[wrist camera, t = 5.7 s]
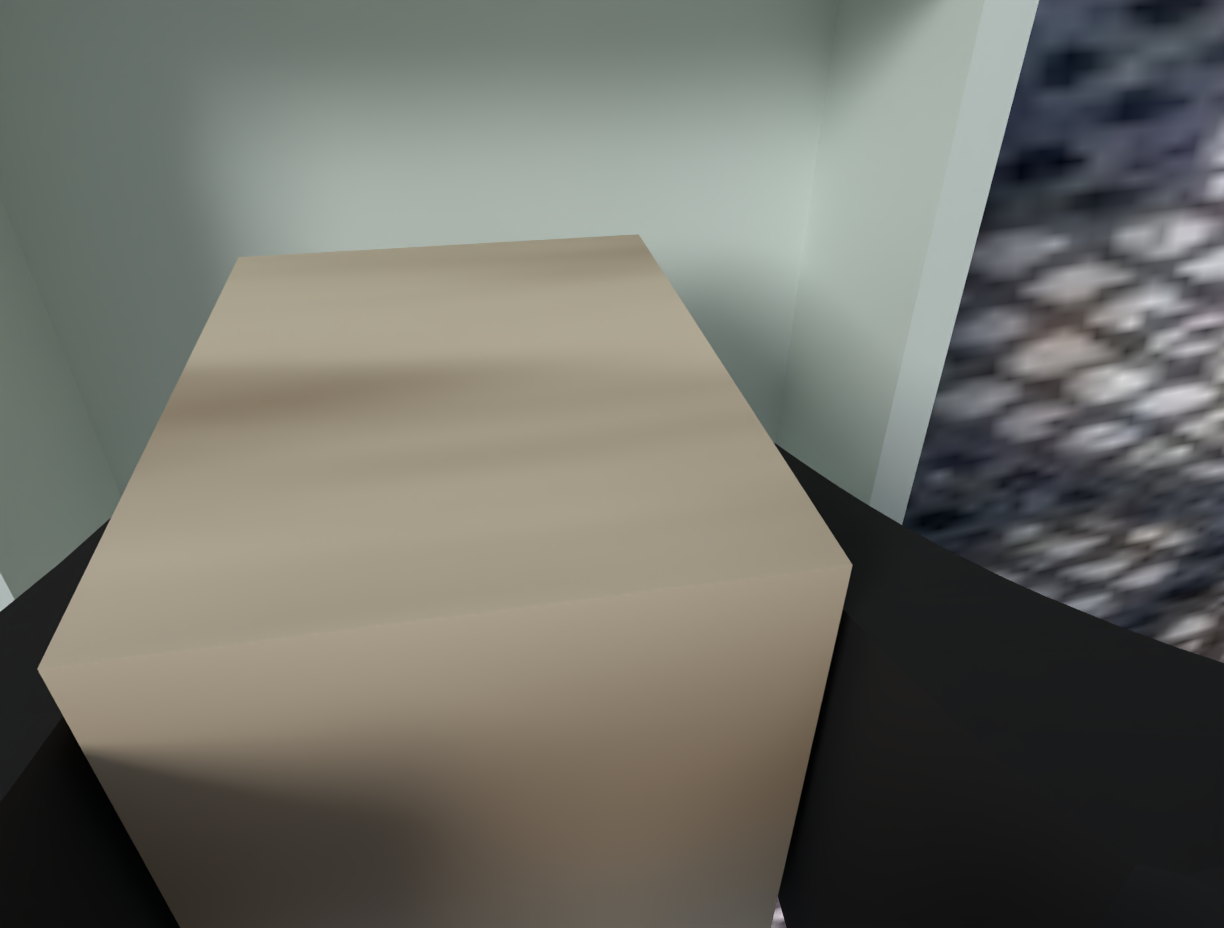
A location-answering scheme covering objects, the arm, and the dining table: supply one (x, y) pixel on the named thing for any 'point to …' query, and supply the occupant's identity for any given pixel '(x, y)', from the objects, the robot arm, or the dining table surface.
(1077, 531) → the dining table surface
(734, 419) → the birch block
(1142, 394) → the dining table surface
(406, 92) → the bin
